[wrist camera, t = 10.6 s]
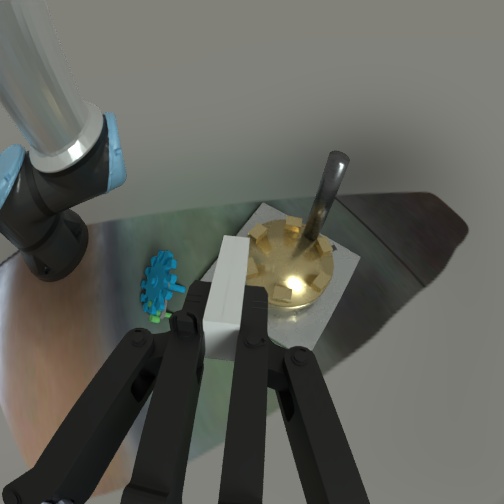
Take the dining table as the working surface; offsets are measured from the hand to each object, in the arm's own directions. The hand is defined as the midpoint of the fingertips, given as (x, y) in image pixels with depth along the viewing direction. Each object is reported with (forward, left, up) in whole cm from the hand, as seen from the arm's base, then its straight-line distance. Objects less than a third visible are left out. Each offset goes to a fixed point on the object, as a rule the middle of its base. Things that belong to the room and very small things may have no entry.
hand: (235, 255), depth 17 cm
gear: (-14, -1, -27) cm, 31 cm away
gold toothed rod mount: (0, +13, -24) cm, 27 cm away
